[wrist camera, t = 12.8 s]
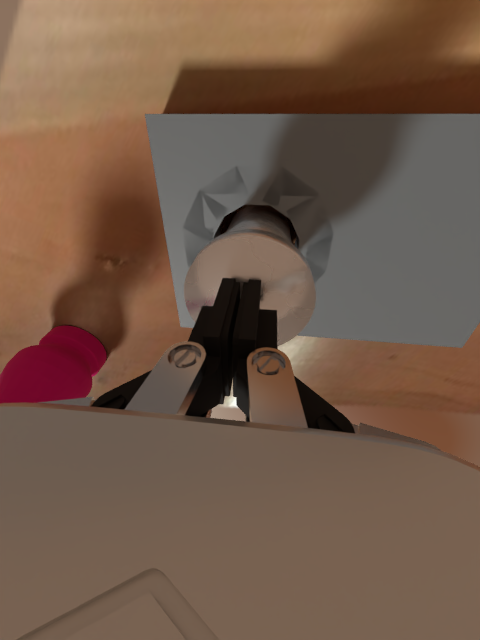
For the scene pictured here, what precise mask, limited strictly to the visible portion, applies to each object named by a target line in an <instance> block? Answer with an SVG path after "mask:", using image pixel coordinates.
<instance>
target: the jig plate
mask: <svg viewBox="0 0 480 640" xmlns="http://www.w3.org/2000/svg"><path fill="white" fill-rule="evenodd" d="M145 118H146V124H147V130H148V136H149V141H150V147H151V153H152V159H153V165H154V171H155V177H156V183H157V189H158V195H159V201H160V207H161V213H162V219H163V225H164V230H165V236H166V242H167V248H168V254H169V260H170V266H171V272H172V278H173V284H174V290H175V296H176V302H177V308H178V314H179V319H180V325H181V327H190V328H193V327H194V325H195V322H194V320H193V319H192V317H191V316H190V314H189V312H188V309H187V307H186V303H185V299H184V283H185V278H186V275H187V272H188V270H189V268H190V266H191V265H192V263H193V261H194V260H195V258H196V257H197V255H198V253H199V252H200V251H201V250H202V248H203V247H204V246H205V245H206V244H208V243H209V242H210V241H211V240H213V239H214V238H216V237H218V236H220V235H221V228H220V225H221V223H222V221H223V219H224V217H225V216H226V215H228V214H230V213H231V212H233V211H235V210H236V209H238V208H240V207H242V206H243V205H270V206H272V207H273V208H275V209H276V210H278V211H279V212H281V213H282V214H284V215H285V216H286V217H288V218H289V219H290V220H291V222H292V224H293V226H294V229H295V231H296V241H295V247H296V248H297V249H298V250H300V252H301V253H302V254H303V256H304V257H305V258H306V260H307V262H308V264H309V266H310V269H311V272H312V276H313V280H314V285H315V290H316V302H315V308H314V311H313V314H312V316H311V318H310V320H309V322H308V323H307V325H306V326H305V327H304V329H303V330H302V331H301V332H300V333H299V334H298V336H311V337H325V338H338V339H352V340H365V341H379V342H392V343H406V344H419V345H432V346H446V347H459V348H462V347H463V346H464V344H465V343H466V341H467V340H468V338H469V337H470V336H471V334H472V333H473V331H474V330H475V328H476V327H477V325H478V324H479V322H480V114H145Z"/></svg>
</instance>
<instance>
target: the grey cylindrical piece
mask: <svg viewBox="0 0 480 640" xmlns="http://www.w3.org/2000/svg"><path fill="white" fill-rule="evenodd" d="M222 278H235V279H236V282H240V298H241V293H242V288H243V283H244V282H248V281H249V279H254V280H261V294H260V309H267V310H277V346H279V345H281V344H284V343H286V342H287V341H289V340H291V339H292V338H294V337H295V336H296V335H298V334H299V333H300V332H301V331H302V330H303V329H304V327H305V326H306V325H307V323H308V322H309V320H310V318H311V316H312V314H313V311H314V308H315V302H316V290H315V285H314V280H313V276H312V272H311V269H310V266H309V264H308V262H307V260H306V258H305V257H304V256H303V254H302V253H301V252H300V250H298V249H297V248H296V247H295V246H294V245H293V244H292V241H291V232H290V226H289V223H288V220H287V218H286V217H285V215H284V214H282V213H281V212H279V211H278V210H276V209H275V208H273V207H272V206H270V205H247V206H245V207H243V208H242V209H240V210H239V211H238V212H237V213H236V214H235V215H234V217H233V219H232V221H231V223H230V225H229V227H228V229H227V231H226V233H224V234H222V235H220V236H218V237H216V238H214V239H213V240H211V241H210V242H209V243H208V244H206V245H205V246H204V247H203V248H202V250H201V251H200V252H199V253H198V255H197V257H196V258H195V260H194V261H193V263H192V265H191V266H190V268H189V270H188V272H187V275H186V278H185V283H184V299H185V303H186V307H187V309H188V312H189V314H190V316H191V317H192V319H193V320H194V322H195V323H196V320H197V318H198V315H199V313H200V310H201V308H202V306H213V304H214V301H215V299H216V296H217V293H218V290H219V287H220V284H221V281H222Z"/></svg>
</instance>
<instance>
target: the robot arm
mask: <svg viewBox="0 0 480 640" xmlns="http://www.w3.org/2000/svg"><path fill="white" fill-rule="evenodd" d="M260 294H261V280H254V279H249V281H248V282H244V283H243V288H242V293H241V298H240V282H236V279H235V278H222V281H221V284H220V287H219V290H218V293H217V296H216V299H215V301H214V304H213V306H202V308H201V310H200V313H199V315H198V318H197V320H196V323H195V325H194V327H193V330H192V332H191V335H190V337H189V340H188V341H187V342H180V343H177V344H174V345H173V346H171V347H169V348H168V349H167V351H166V352H165V353H164V354H163V356H162V357H161V359H160V360H159V361H158V363H157V364H156V366H155V367H154V368H153V370H151V371H149V372H147V373H145V374H143V375H141V376H139V377H137V378H135V379H133V380H131V381H129V382H127V383H125V384H123V385H121V386H119V387H117V388H115V389H113V390H111V391H109V392H107V393H105V394H103V395H102V396H100V397H99V398H98V399H97V400H94V398H93V397H86V398H76V399H67V400H57V401H48V402H38V403H26V402H23V403H1V404H0V640H480V467H478V466H477V465H475V464H472V463H470V462H468V461H466V460H463V459H461V458H458V457H456V456H454V455H451V454H449V453H446V452H443V451H441V450H440V449H438V448H437V447H436V446H434V445H431V444H429V443H427V442H424V441H421V440H417V439H414V438H411V437H407V436H404V435H400V434H397V433H394V432H390V431H387V430H383V429H380V428H376V427H373V426H370V425H367V424H363V423H360V424H359V426H358V425H355V424H351V423H350V421H349V420H348V419H347V418H346V417H345V416H344V415H343V414H342V413H340V412H339V411H338V410H337V409H335V408H334V407H333V406H331V405H330V404H329V403H328V402H326V401H325V400H324V399H323V398H321V397H320V396H319V395H318V394H316V393H315V392H314V391H313V390H311V389H310V388H309V387H308V386H306V385H305V384H304V383H303V382H301V381H300V380H299V379H297V378H296V377H295V376H294V374H293V370H292V367H291V363H290V360H289V358H288V357H287V356H286V355H285V353H283V352H282V351H280V350H278V349H277V310H267V309H260ZM232 379H233V396H234V397H237V406H238V407H239V408H240V409H241V410H242V411H243V412H244V414H245V422H244V421H235V420H225V419H214V418H210V417H211V413H212V408H213V407H215V406H217V405H218V404H223V403H224V397H225V396H230V391H231V385H232Z"/></svg>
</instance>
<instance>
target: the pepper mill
mask: <svg viewBox="0 0 480 640" xmlns="http://www.w3.org/2000/svg"><path fill="white" fill-rule="evenodd" d="M106 358H107V355H106V351H105V349H104V346H103V345H102V344H101V342H100V341H99V340H98V339H97V338H96V337H94V336H93V335H92V334H90V333H88V332H87V331H85V330H82V329H80V328H78V327H73V326H68V325H66V326H58V327H55V328H53V329H52V330H51V331H50V332H49V333H48V334H46V335H45V336H44V337H43V338H42V339H41V340H40V342H39V345H35V346H30V347H27V348H24V349H22V350H21V351H19V352H18V353H17V354H16V355H15V356H14V357H13V358H12V359H11V360H10V361H9V362H8V363H7V365H6V366H5V368H4V370H3V371H2V373H1V375H0V404H1V403H23V402H26V403H38V402H48V401H57V400H67V399H76V398H86V396H87V395H88V394H89V392H90V390H91V388H92V377H93V376H95V375H96V374H97V373H98V371H99V370H100V369H101V367H102V366H103V365H104V363H105V361H106Z"/></svg>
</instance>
